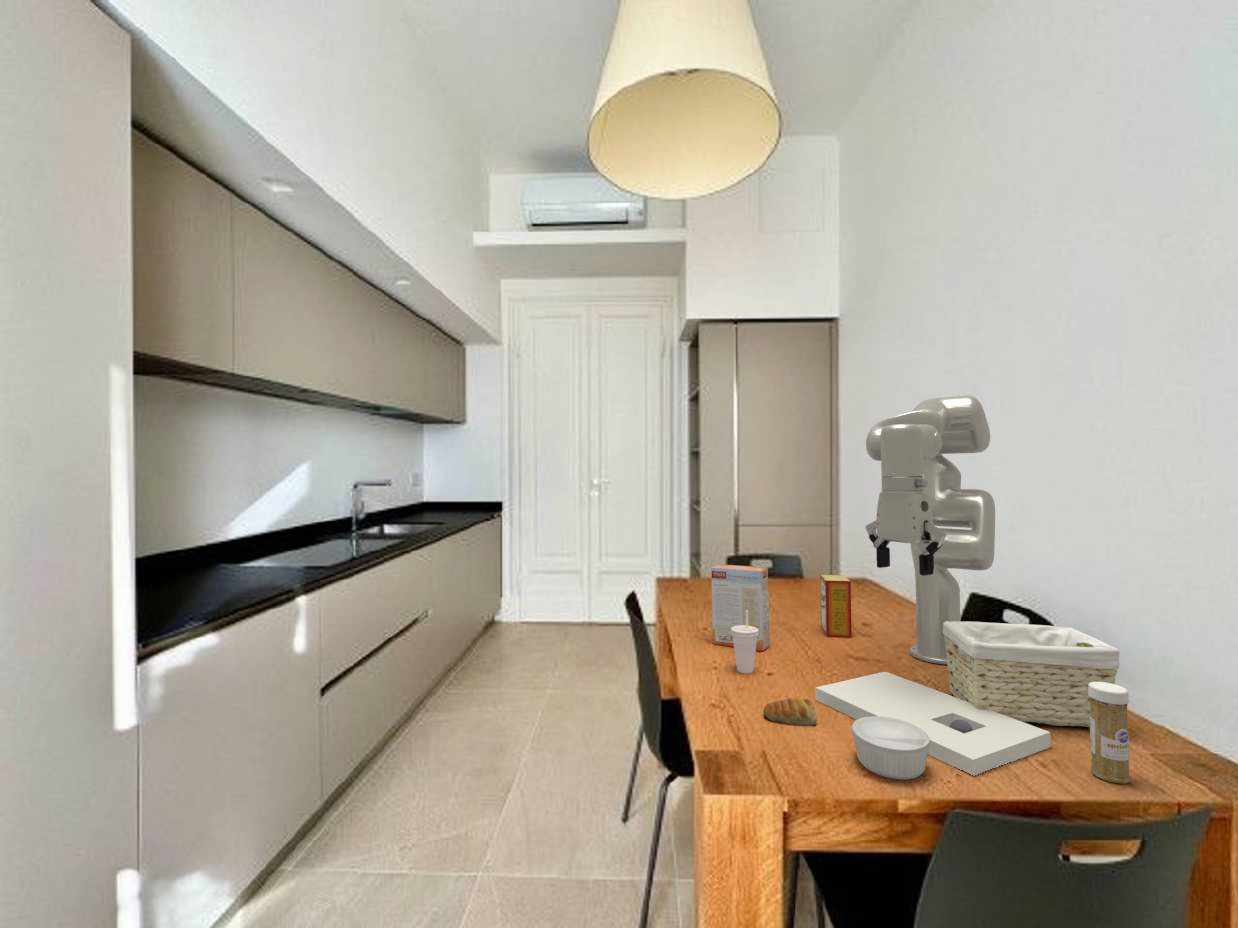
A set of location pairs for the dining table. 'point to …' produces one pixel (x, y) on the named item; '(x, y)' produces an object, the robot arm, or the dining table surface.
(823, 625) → the baking soda box
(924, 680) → the dining table surface
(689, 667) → the dining table surface
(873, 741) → the ramekin
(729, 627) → the cracker box
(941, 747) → the board
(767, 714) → the pastry
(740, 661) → the smoothie
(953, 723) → the ball
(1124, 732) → the sprinkles bottle
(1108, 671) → the storage basket
